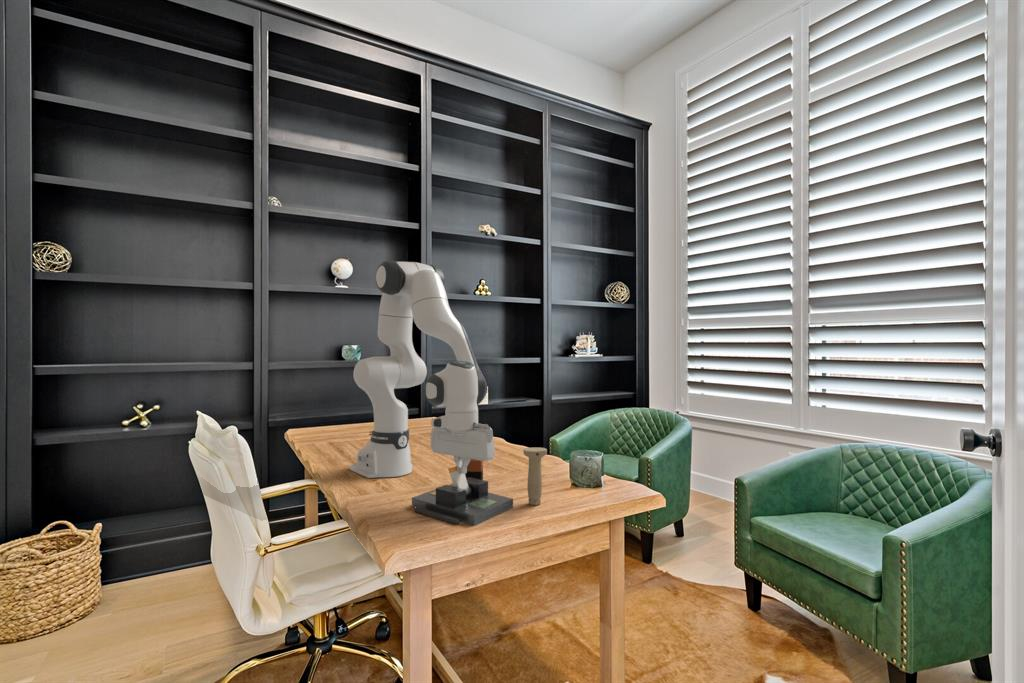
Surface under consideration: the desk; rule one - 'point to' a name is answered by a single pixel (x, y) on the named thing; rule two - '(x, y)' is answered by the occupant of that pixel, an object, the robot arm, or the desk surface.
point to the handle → (534, 473)
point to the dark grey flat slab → (436, 515)
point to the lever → (459, 480)
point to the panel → (464, 509)
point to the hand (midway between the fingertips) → (462, 473)
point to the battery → (475, 469)
